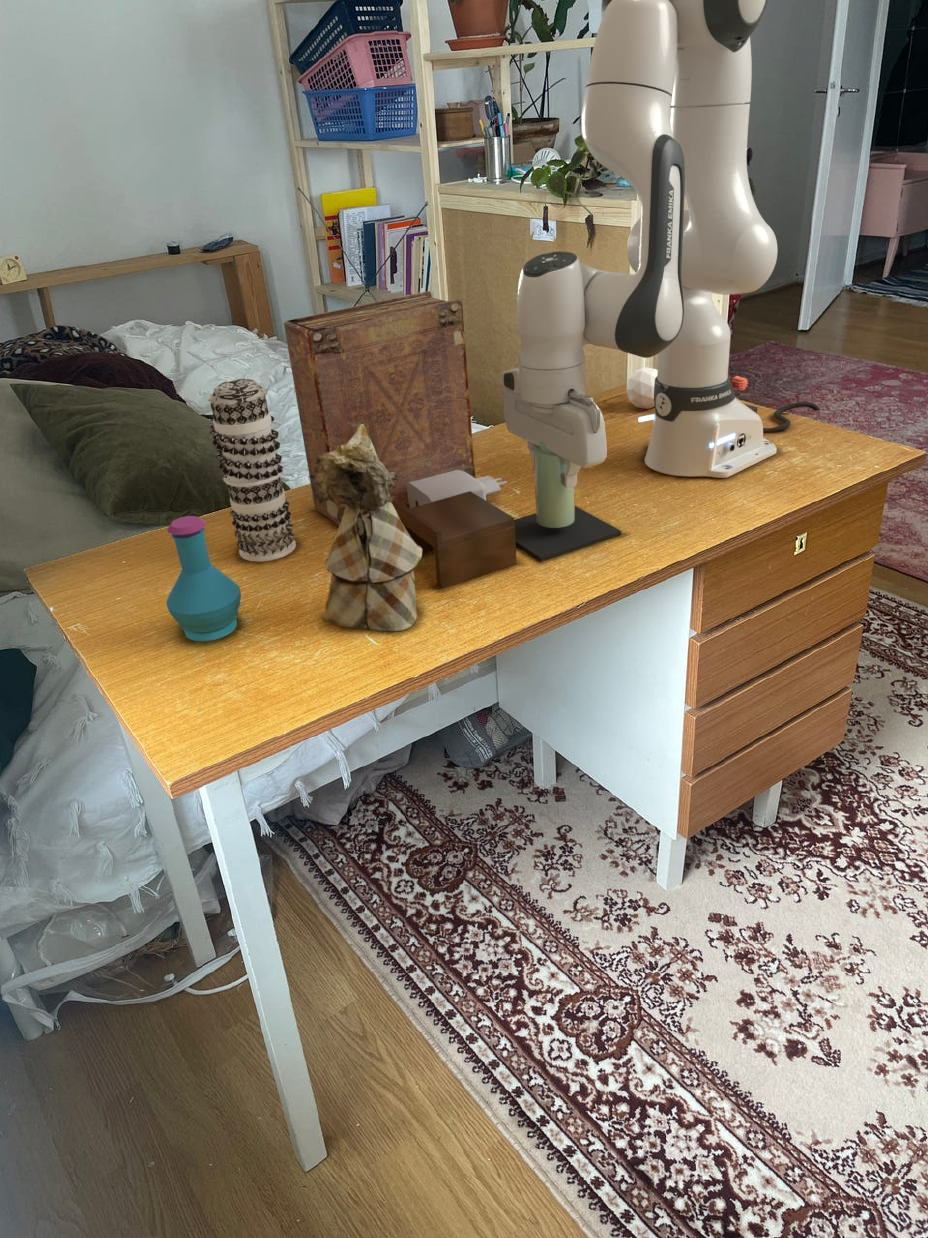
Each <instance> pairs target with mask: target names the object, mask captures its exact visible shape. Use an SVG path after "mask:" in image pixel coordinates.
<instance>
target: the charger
mask: <svg viewBox="0 0 928 1238" xmlns="http://www.w3.org/2000/svg"><path fill="white" fill-rule="evenodd" d="M506 484H508V482H507V480H503V481H502V477H497V478H493V477H492V476H491V475H485V476H481V477H477V478H476V477H475V478H474V477H472V476H471V475H469V474H468V473H466V472H464V471H460V470H455V471H451V472H447V473H443V474H439V475H435V476H432V477H428V478H424V479H420V480H416V481H413V482H409V483H407V494H408V503H409V506H408V507H409V508H414V507H417V506H421V505H424V504H427V503H431V502H434V501H438V500H441V499H445V498H448V497H452V496H455V495H458V494H462V493H465V492H469V491H471V492H473V493H474V494H476V495H478V496H479V497H481V498H482V499H484V500H486V501H487V496H491V495H494V494H497V493H501V491H502V489H501V486H502V485H506Z"/></svg>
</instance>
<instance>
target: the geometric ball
mask: <svg viewBox="0 0 928 1238" xmlns="http://www.w3.org/2000/svg"><path fill="white" fill-rule="evenodd" d="M657 372H658V369H656V368H652V367H646V366H643V367H641V368H639V369H636V370H634V371H633V372H632V373H631V375H630V376H629V377H628V379H627V381H626V388H625V391H626V395H627V398H628V399H627V400H628V401H629V402H630V403H631V404H632V405H634V406H635V407H636V408H639V409H645V410H650V409H651V408H655V405H654V383H655V378H656V377H657Z"/></svg>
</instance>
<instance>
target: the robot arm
mask: <svg viewBox="0 0 928 1238" xmlns="http://www.w3.org/2000/svg"><path fill="white" fill-rule="evenodd" d="M767 4H768V0H601V21H600V23H599V27H598V29H597V33H596V37H595V40H594V44H593V46H592V47H593V48H592V51H591V55H590V59H589V60H590V61H589V65H588V70H587V75H586V81H585V88H584V94H583V99H582V100H583V101H582V108H581V113H580V114H581V115H580V128H581V129H580V130H581V137H582V139H583V142H584V144H585V147H586V149H587V150H588V151H589V153H590V155H592V157H593V158H594V159H595V161H596V162H598V164H600V165H601V166H602V167H604V168H606V169H607V170H608V171H610V172H612V173H613V174H616V176H617V175H618V176H619V177H621V178H622V179H624V180H625V181H626V182H627V183H629V184H630V185H631V187H632V188H633V189H634V190H635V192H636V194H637V196H638V199H639V204H640V217H639V218H638V220H636V222H635V223H634V225H633V226H632V228H631V230H630V233H629V234H628V239H627V243H626V256H627V259H628V260H627V261H628V263H629V265H630V267H631V269H632V270H633V271H634V272H635V274H634V273H633V274H632V273H622V272H614V271H610V270H603V269H598V268H594V267H591V266H589V265H586V264H585V263H583V262H581V260H580V258H579V256H578V255H577V254H575V253H574V252H570V251H562V250H561V251H560V250H559V251H551V252H548V253H547V252H546V253H542V254H539V255H536V256H534V257H532V258H530V259H528V260H527V262H525V263H524V264H523V266H522V267H521V271H520V274H519V278H518V283H517V285H518V286H517V294H516V317H517V318H516V322H517V324H516V325H517V333H518V336H519V338H520V346H521V348H520V353H519V357H518V367H514V368H511V369H508V370H504V371H502V372H500V382H501V383H500V384H501V386H502V387H503V388H504V390H503V393H502V396H503V397H502V399H503V400H502V401H503V402H502V403H503V414H504V423H505V425H506V428H507V430H508V432H509V433H511V434H512V435H514V436H517V437H518V438H521V439H523V440H525V441H526V442H527V449H528V452H529V454H530V456H531V459H532V464H533V466H532V467H533V470H534V471H535V466H534V448H535V447H536V446H539V447H540V445H539V442H542V443H544V444H546V445H547V448H548V451H550V452H552V453H554V454H556V455H558V456H560V457H562V458H564V464H565V465H567V467H566V470H565V473H561V484H562V485H564V486H566V487H568V488H570V487H574V488H575V487H576V485H578V474H579V472H580V470H581V468H583V469H589V468H593V467H596V466H599V465H601V464H603V463H604V462H605V460H606V458H607V455H608V450H607V449H608V448H607V447H608V446H607V435H606V424H605V419H604V415H603V412H602V411H601V408H600V407H598V404H597V403H596V402H595V399H594V397H592V396H591V395H585V394H586V353H585V350H584V346H586V345H592V346H596V347H601V348H606V349H613V350H619V351H621V352H622V353H627V354H630V355H633V356H637V357H641V358H644V359H649V358H652V357H655V356H656V355H657V370H658V372H657V377H656V378H655V383H654V405H655V406H654V414H649V415H644V416H639V417H638V423H642V422H647V421H652V427H651V433H650V438H649V442H648V447H647V450H646V454H645V457H644V464H645V465H646V466H647V467H648V468H649V469H651V470H653V471H656V472H658V473H660V474H665V475H669V476H676V477H710V478H718V479H726V478H729V477H731V476H733V475H735V474H738V473H739V472H741V471H744V470H745V469H748V468H749V467H752V466H754V465H755V464H758V463H760V462H761V461H764V460H766V459H768V458H770V457H772V456H774V455H776V454H778V453H777V452H778V449H777V446H776V445H775V444H774V442H772V441H771V440H768V439H767V438H765V437H764V434H771V433H779V432H782V431H784V430H787V429H788V428H789V427H790V426H791V420H789V419H788V418H787V417H785V416H784V415H782V414H783V413H785V412H788V411H790V410H793V409H796V408H809V409H812V410H813V411H818V412H819V411H820V410H821V408H819V406H818V405H817V404H816V403H814V402H811V401H798V402H792V403H790V404H786V405H784V406H782V407H779V408H778V409H776V410H775V411H774V412H773V417H774V418H775V419H776V420H778V421H779V422H781V423H783V424H780V425H778V426H775V427H764V426H763V421H762V418H761V417H760V416H759V414H758V406H754V405H751V404H750V405H749V404H745V403H743V402H742V401H740V400H739V399H738V398H737V397H736V394H735V391H734V389H737V390H739V391H745V390H746V389H747V387H748V384H749V382H748V381H749V380H748V379H747V378H746V377H742V376H739V375H735V376H734V377H731V375H729V364H730V350H731V349H730V348H731V337H732V336H731V329H730V326H729V323H728V322H727V320H726V319H725V317H723V316H722V314H721V313H720V312H719V311H718V309H717V307H716V305H715V303H714V301H713V298H712V295H711V294H715V295H716V294H718V295H722V296H727V295H728V296H729V295H741V294H748V293H753V292H755V291H758V290H759V289H760V288H762V287H763V286H764V285H765V283H767V281H768V280H769V278H770V277H771V276H772V274H773V272H774V270H775V267H776V264H777V259H778V253H779V252H778V241H777V237H776V234H775V232H774V230H773V229H772V228H771V226H770V225H769V224H768V223H767V222H766V220H765V219H764V218H763V216H762V215H761V213H760V211H759V210H758V207H757V205H756V202H755V199H754V196H753V192H752V189H751V185H750V180H749V179H750V178H749V174H748V163H747V160H748V158H747V157H748V156H747V155H748V137H749V121H750V110H751V109H750V108H751V98H752V81H753V79H752V77H753V69H752V67H753V65H752V63H753V61H752V60H753V59H752V44H751V35H752V34H753V33H754V32H755V30H756V28H757V27H758V25H759V23H760V22H761V20H762V17H763V16H764V13H765V11H766V8H767ZM685 201H686V205H687V209H685Z"/></svg>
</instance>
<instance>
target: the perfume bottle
mask: <svg viewBox="0 0 928 1238" xmlns="http://www.w3.org/2000/svg"><path fill="white" fill-rule="evenodd" d="M206 525H207V522H206V521H205V520H204V519H202V518H201V517H199V516H196V515H187V516H182V517H178V518H175V519H174V520H173V521H172V522H171V523H170V524H169V526H168V527H167V529H166V532H167V533H168V534H170V535H171V538H172V539H173V540H174V543H175V548H176V553H177V556H178V560H179V564H180V567H181V568H180V569H181V570H180V572H179V574H178V576H177V579H176V581H175V583H174V584H173V587H172V588H171V590H170V592H169V594H168V595H167V598H166V603H165V605H166V607H167V610H168V612H169V614H170V615H171V617H172V619H174V621H175V622H176V623H177V624H178V626H179V628H181V629H182V630H183V631H184V634H185V636H186V638H188V639H189V640H190V641H194V642H211V641H215V640H219V639H222V638H224V637H226V636H228V635H230V634H231V633H233V632H234V631H235V630H236V628H237V626H238V622H237V618H238V615H239V608H240V605H241V600H242V599H241V597H242V595H241V588H240V585H239V584H238V583H237V582H235V580H233V579H232V578H230V577H229V576H228V575H226V574H225V573H224V572H222V571H221V570H219V569H218V568H217V567H216V566H214V565H213V564H212V563H211V559H210V555H209V550H208V546H207V542H206V537H205V532H206V531H205V527H206Z"/></svg>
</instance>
